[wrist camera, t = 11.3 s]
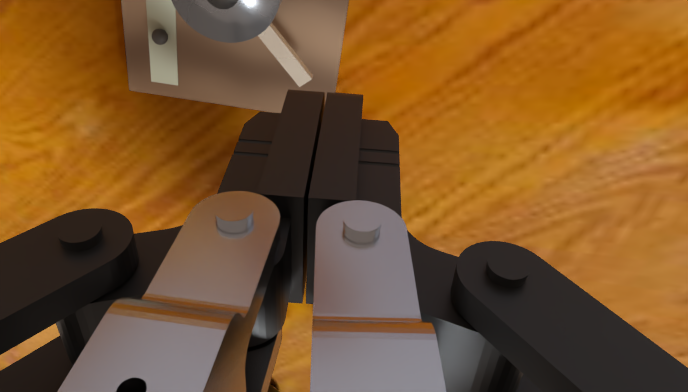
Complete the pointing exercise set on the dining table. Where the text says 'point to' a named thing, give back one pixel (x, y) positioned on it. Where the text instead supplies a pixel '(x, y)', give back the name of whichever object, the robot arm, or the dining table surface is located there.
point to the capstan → (243, 27)
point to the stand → (230, 55)
